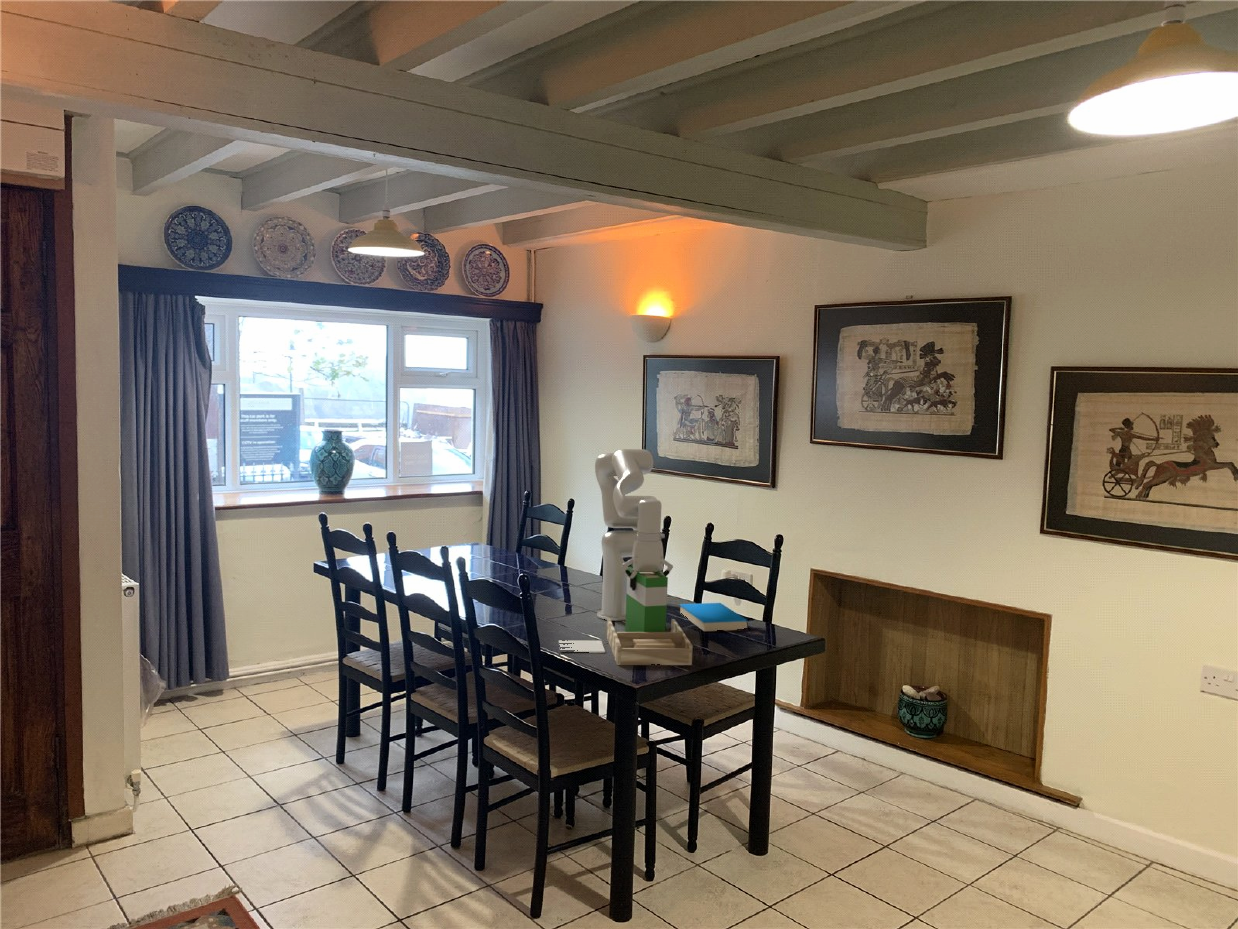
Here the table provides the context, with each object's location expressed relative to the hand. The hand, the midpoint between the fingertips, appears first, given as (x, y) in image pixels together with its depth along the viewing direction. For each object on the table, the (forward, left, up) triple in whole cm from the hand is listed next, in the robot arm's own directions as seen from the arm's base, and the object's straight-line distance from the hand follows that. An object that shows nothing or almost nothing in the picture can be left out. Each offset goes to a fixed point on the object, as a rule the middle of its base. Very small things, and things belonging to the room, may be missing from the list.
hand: (646, 589), depth 295 cm
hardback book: (0, 0, -18) cm, 18 cm away
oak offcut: (+16, 0, -16) cm, 23 cm away
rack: (+6, 0, -18) cm, 19 cm away
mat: (+4, -21, -18) cm, 28 cm away
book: (-29, +29, -19) cm, 46 cm away
